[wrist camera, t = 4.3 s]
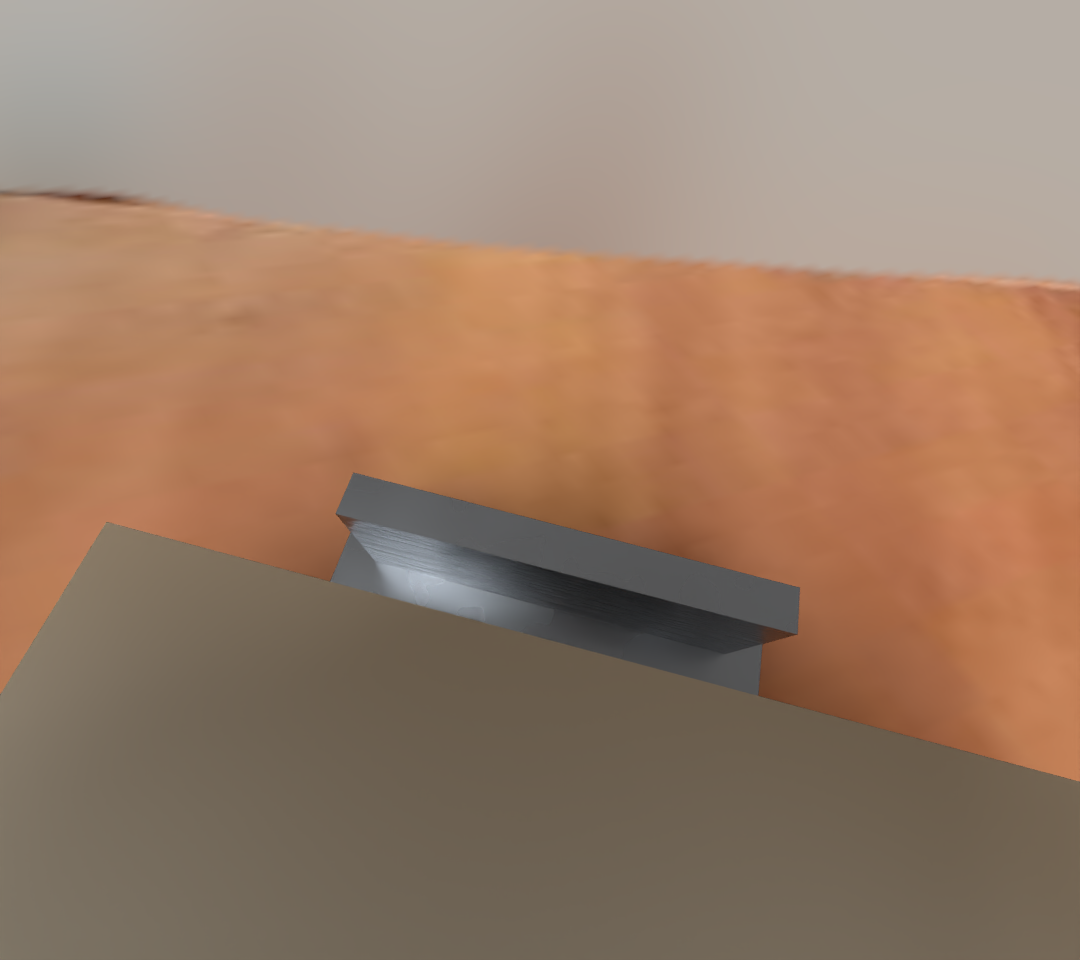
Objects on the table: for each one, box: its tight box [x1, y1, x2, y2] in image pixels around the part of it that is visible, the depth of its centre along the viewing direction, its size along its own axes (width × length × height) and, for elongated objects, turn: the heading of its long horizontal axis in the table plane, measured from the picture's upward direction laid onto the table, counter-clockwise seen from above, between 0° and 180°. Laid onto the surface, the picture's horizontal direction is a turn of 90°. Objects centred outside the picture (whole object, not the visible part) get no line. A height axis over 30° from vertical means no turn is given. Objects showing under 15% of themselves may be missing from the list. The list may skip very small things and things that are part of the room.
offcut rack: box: [330, 473, 800, 696], centre depth 11 cm, size 17×12×5 cm
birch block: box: [0, 522, 1080, 960], centre depth 8 cm, size 2×6×12 cm, turn 76°
